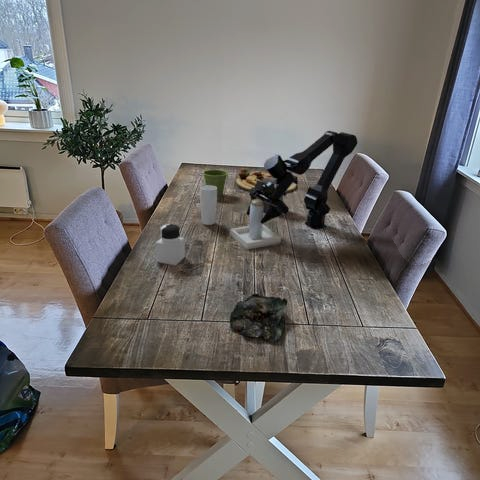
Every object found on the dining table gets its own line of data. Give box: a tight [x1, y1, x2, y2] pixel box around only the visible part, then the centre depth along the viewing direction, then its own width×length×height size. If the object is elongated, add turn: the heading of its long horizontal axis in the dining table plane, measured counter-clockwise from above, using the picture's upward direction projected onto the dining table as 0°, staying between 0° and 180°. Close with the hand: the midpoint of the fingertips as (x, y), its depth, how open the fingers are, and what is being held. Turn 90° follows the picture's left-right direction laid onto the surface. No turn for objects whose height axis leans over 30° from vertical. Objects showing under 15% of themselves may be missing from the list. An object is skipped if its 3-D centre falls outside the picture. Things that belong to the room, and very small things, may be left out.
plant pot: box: [202, 169, 229, 198], centre depth 202 cm, size 12×12×11 cm
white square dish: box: [229, 223, 282, 251], centre depth 158 cm, size 14×14×2 cm
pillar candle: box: [262, 178, 284, 214], centre depth 185 cm, size 10×10×15 cm
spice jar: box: [248, 199, 264, 240], centre depth 156 cm, size 5×5×14 cm
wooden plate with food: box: [235, 167, 298, 194], centre depth 222 cm, size 32×32×8 cm
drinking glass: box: [199, 184, 218, 226], centre depth 169 cm, size 7×7×15 cm
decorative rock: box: [229, 293, 288, 342], centre depth 110 cm, size 19×6×15 cm
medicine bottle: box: [155, 223, 186, 266], centre depth 139 cm, size 7×7×12 cm
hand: (254, 218), depth 155 cm, fingers open, 9 cm apart
